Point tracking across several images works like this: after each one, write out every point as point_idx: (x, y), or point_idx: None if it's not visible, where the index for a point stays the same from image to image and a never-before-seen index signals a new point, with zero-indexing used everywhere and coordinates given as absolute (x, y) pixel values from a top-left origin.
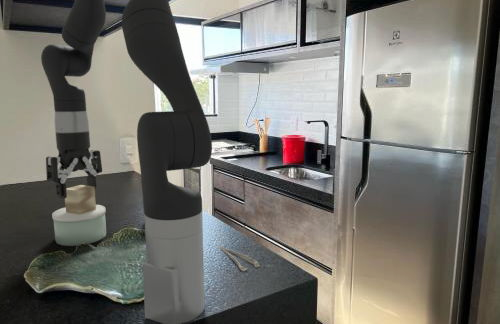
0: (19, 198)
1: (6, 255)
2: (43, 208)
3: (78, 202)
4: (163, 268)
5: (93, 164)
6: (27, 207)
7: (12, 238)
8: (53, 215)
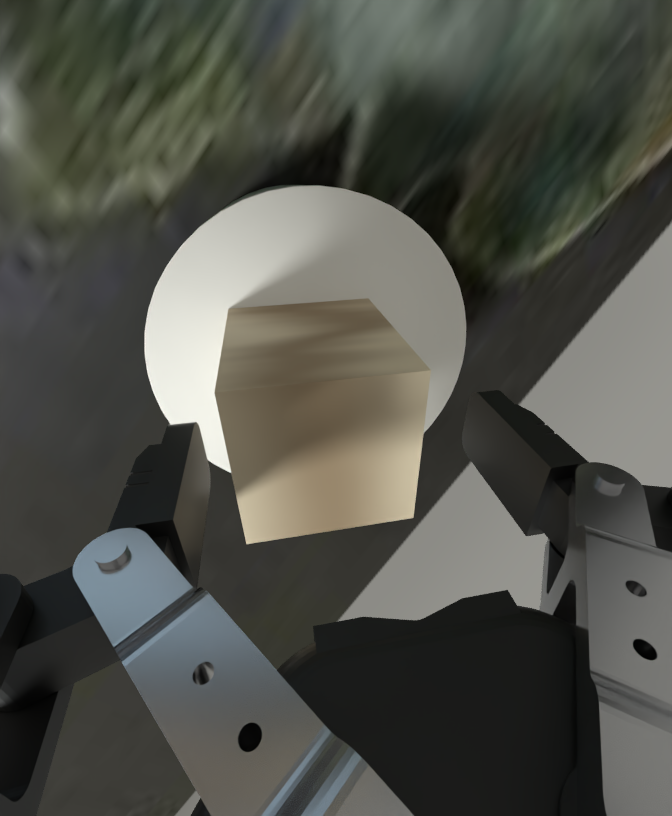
0: None
1: (537, 376)
2: None
3: (393, 330)
4: None
5: (9, 783)
6: None
7: (424, 492)
8: (436, 410)
